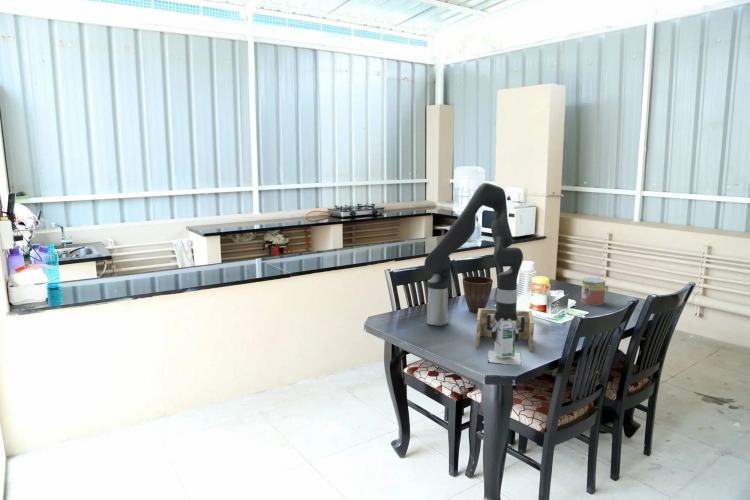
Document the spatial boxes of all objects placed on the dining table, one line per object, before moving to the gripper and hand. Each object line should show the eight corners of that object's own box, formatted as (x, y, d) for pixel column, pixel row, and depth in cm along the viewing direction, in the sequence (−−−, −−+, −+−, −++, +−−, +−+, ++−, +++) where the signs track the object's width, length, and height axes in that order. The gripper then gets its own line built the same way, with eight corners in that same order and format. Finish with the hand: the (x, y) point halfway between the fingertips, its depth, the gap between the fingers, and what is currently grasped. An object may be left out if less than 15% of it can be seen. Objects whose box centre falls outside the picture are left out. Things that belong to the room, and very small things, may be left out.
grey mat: (487, 362, 197) (487, 361, 197) (488, 351, 208) (488, 350, 208) (520, 365, 194) (521, 364, 194) (519, 353, 205) (519, 352, 205)
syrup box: (500, 358, 198) (502, 321, 195) (493, 352, 203) (495, 316, 201) (514, 357, 199) (516, 320, 196) (507, 351, 204) (508, 315, 202)
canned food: (576, 300, 280) (577, 278, 278) (593, 298, 284) (595, 277, 282) (590, 306, 270) (592, 283, 268) (608, 304, 273) (610, 281, 271)
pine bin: (476, 347, 212) (476, 319, 210) (477, 334, 227) (478, 308, 225) (532, 352, 207) (534, 323, 205) (530, 338, 222) (531, 311, 220)
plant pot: (492, 307, 269) (493, 277, 266) (491, 315, 254) (492, 283, 252) (463, 305, 272) (463, 275, 269) (460, 313, 258) (461, 282, 255)
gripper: (525, 298, 199) (523, 339, 202) (487, 296, 202) (485, 336, 205) (526, 303, 192) (524, 346, 195) (486, 301, 195) (485, 343, 198)
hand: (504, 341), depth 200 cm, fingers closed on syrup box, 7 cm apart
